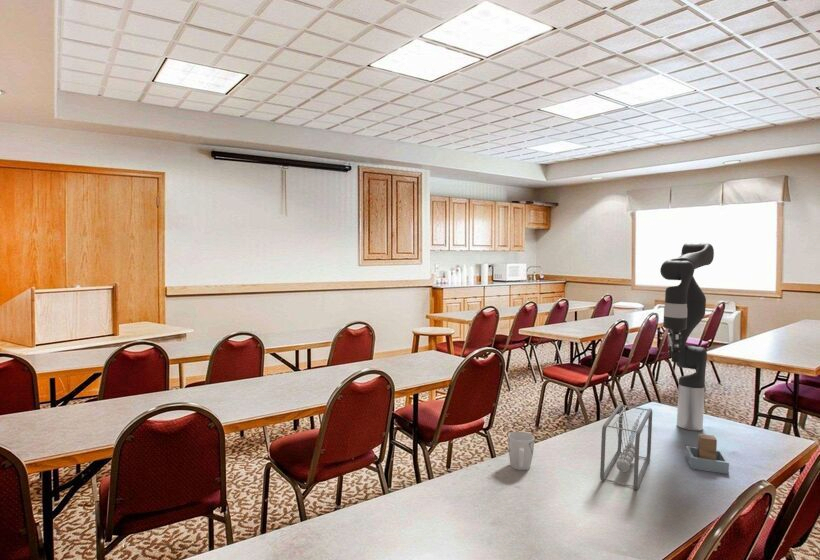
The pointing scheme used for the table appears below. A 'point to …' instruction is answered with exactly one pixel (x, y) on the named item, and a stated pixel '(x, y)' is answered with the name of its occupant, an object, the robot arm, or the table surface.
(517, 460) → the mug
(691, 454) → the tray
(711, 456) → the block
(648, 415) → the newton's cradle
